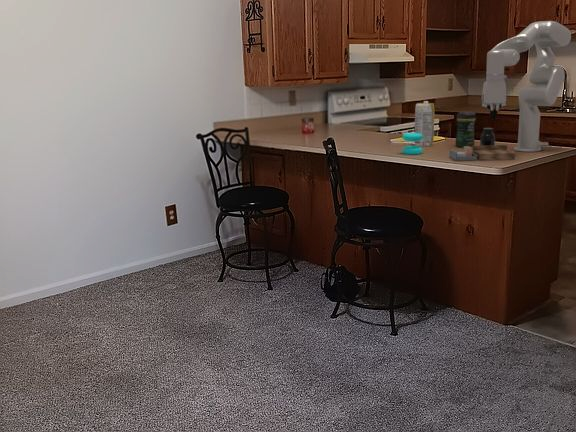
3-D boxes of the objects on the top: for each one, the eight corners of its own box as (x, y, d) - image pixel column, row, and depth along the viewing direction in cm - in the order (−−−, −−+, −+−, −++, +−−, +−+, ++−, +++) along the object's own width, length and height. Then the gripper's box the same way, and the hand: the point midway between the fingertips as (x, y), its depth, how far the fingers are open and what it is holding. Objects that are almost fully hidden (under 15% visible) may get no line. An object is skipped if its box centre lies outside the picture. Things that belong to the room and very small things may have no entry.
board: (505, 155, 281) (506, 144, 280) (514, 159, 270) (515, 148, 268) (472, 156, 282) (472, 146, 281) (479, 160, 270) (479, 149, 269)
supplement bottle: (477, 152, 291) (478, 128, 288) (483, 151, 296) (485, 127, 293) (490, 154, 286) (491, 129, 283) (496, 152, 291) (498, 128, 288)
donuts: (411, 132, 301) (427, 133, 294) (411, 151, 304) (426, 153, 296) (398, 134, 296) (413, 135, 288) (398, 153, 298) (412, 155, 290)
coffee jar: (464, 148, 307) (465, 112, 302) (452, 146, 314) (454, 111, 309) (477, 146, 312) (478, 111, 307) (465, 144, 318) (467, 110, 313)
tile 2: (469, 146, 277) (463, 146, 278) (472, 147, 273) (466, 148, 273) (468, 156, 279) (463, 156, 279) (471, 158, 274) (466, 158, 274)
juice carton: (434, 144, 323) (435, 100, 316) (429, 146, 316) (430, 101, 310) (418, 144, 328) (419, 100, 322) (413, 146, 321) (413, 101, 315)
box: (470, 156, 282) (470, 148, 281) (477, 160, 270) (477, 151, 269) (449, 157, 282) (449, 148, 281) (455, 161, 271) (456, 152, 270)
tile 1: (452, 152, 278) (452, 157, 279) (455, 153, 273) (455, 159, 274) (463, 151, 278) (463, 157, 278) (466, 153, 273) (465, 158, 274)
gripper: (508, 77, 270) (506, 117, 275) (476, 79, 270) (474, 119, 275) (514, 78, 263) (512, 119, 267) (480, 79, 263) (479, 120, 268)
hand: (493, 119), depth 271 cm, fingers closed
